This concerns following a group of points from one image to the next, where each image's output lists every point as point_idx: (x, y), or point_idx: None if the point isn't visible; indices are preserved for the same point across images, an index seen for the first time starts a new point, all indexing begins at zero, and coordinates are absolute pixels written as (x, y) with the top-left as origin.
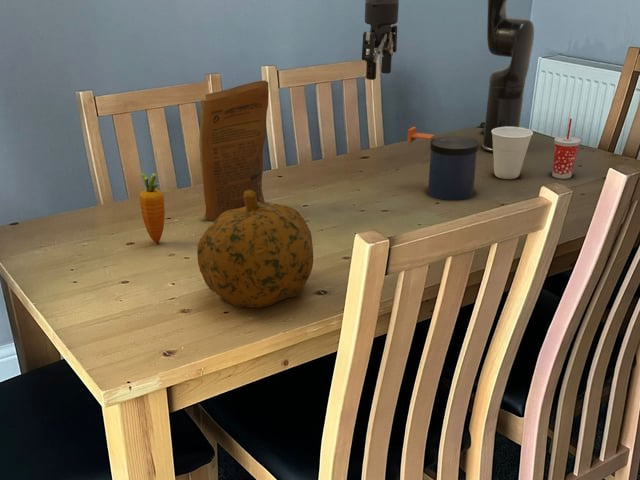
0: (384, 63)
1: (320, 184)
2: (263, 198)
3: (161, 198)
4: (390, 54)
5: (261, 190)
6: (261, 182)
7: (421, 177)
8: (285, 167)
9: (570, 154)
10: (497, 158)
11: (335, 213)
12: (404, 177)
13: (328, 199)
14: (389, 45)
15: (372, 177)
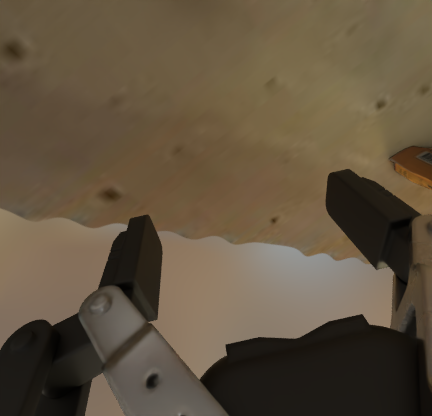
0: (153, 273)
1: (275, 157)
2: (405, 158)
3: None
4: (128, 300)
5: (418, 163)
6: (422, 171)
7: (114, 13)
8: (235, 241)
9: None
10: None
11: (404, 30)
12: (145, 52)
13: (338, 95)
14: (188, 367)
15: (191, 110)
